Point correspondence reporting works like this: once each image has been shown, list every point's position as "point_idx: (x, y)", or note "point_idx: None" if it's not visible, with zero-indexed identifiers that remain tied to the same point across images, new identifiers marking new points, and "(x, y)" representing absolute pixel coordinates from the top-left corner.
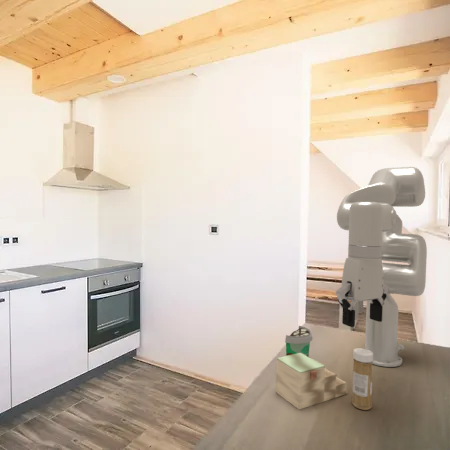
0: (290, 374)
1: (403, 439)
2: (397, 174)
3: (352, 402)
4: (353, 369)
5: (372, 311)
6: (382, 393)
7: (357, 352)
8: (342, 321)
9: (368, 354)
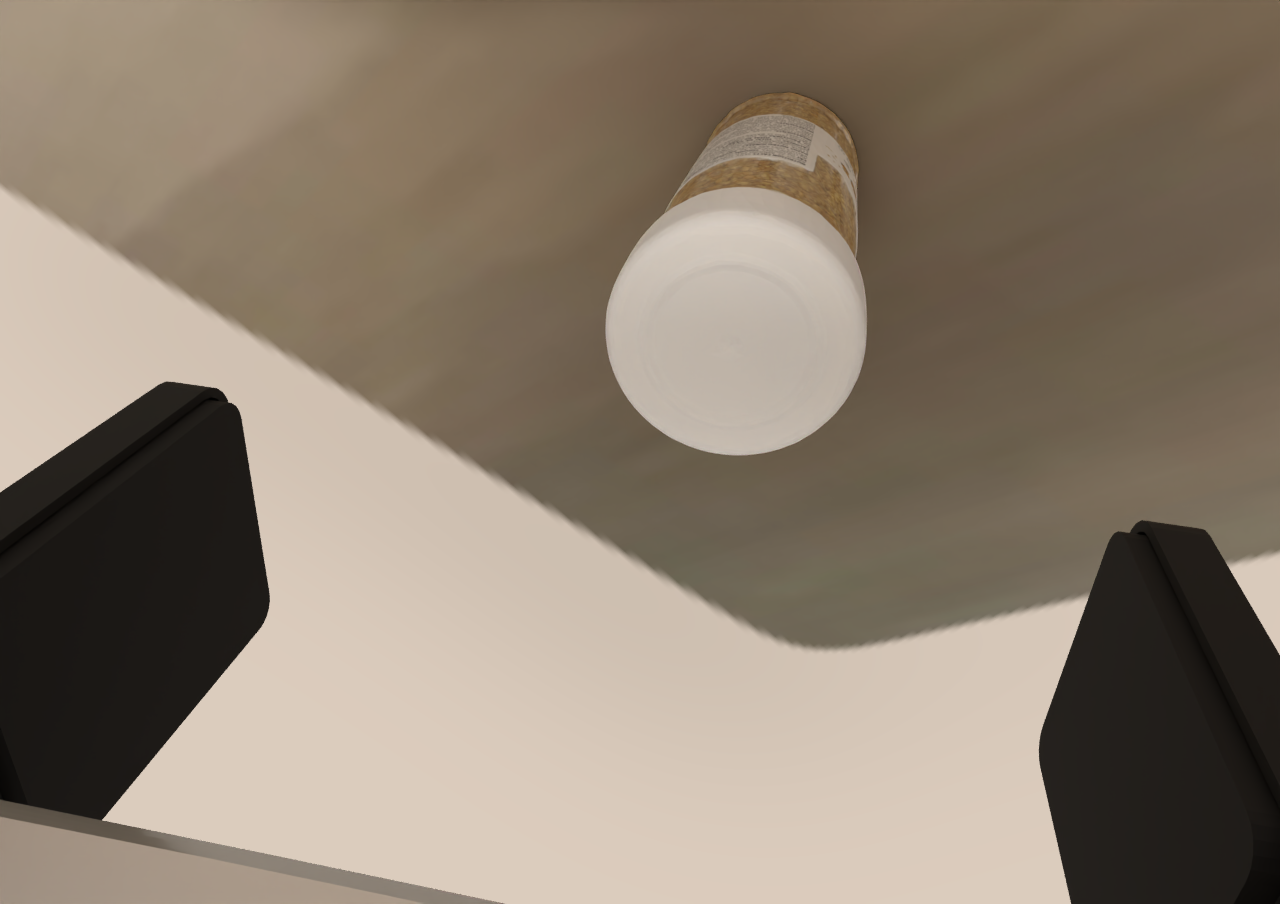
0: None
1: (656, 524)
2: None
3: (718, 126)
4: (680, 193)
5: (1145, 734)
6: (1157, 149)
7: (625, 326)
8: (148, 397)
9: (695, 439)
